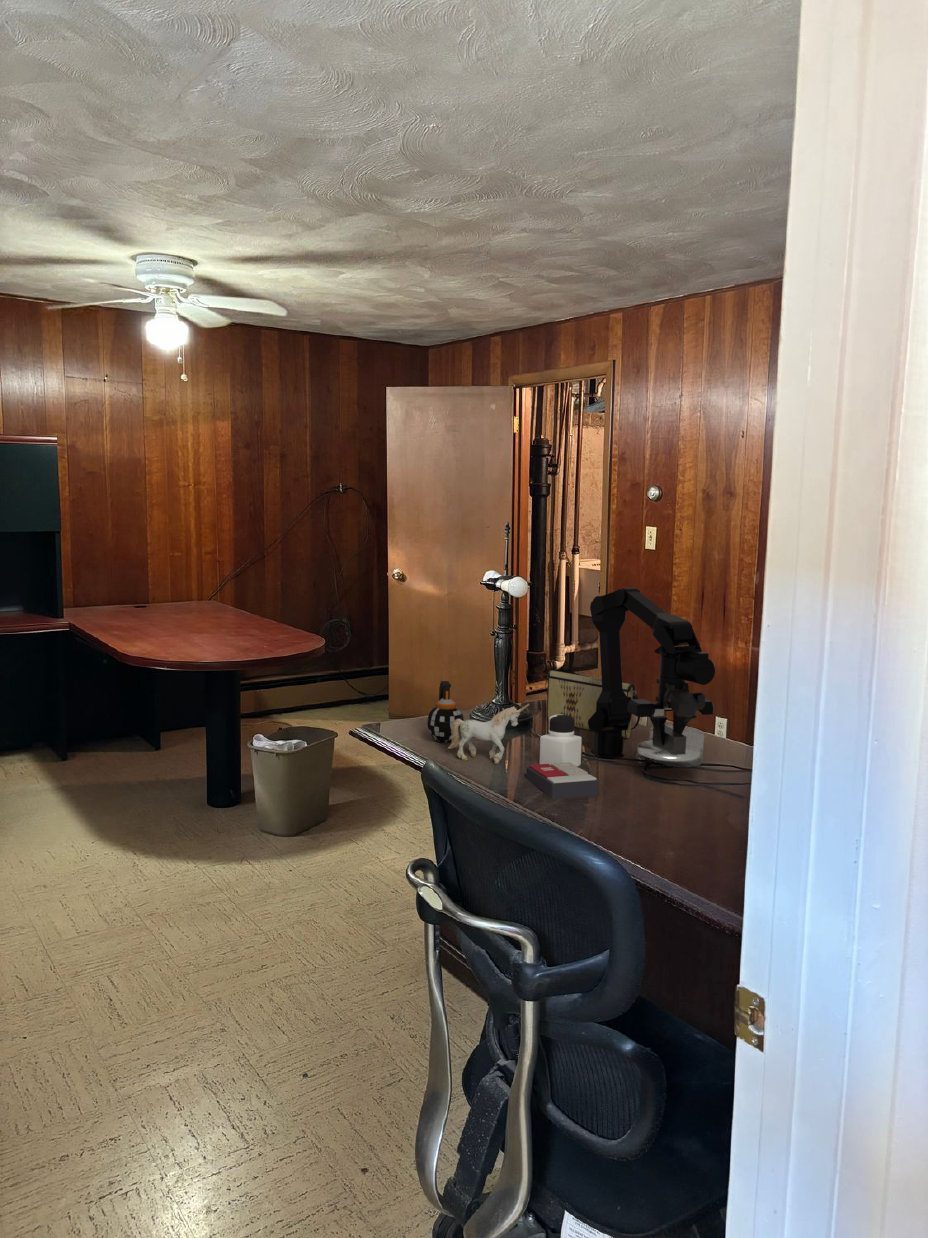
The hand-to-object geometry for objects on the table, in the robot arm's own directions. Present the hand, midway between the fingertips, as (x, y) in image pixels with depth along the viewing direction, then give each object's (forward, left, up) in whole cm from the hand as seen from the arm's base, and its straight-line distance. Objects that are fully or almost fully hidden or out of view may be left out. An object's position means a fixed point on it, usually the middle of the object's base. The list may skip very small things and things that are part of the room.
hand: (668, 744), depth 200 cm
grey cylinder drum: (+10, +15, -8) cm, 20 cm away
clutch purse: (+1, +47, -9) cm, 48 cm away
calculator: (-25, 0, -9) cm, 27 cm away
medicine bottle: (-20, +15, -9) cm, 27 cm away
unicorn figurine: (-35, +24, -9) cm, 43 cm away
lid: (0, 0, -2) cm, 2 cm away
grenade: (-42, +41, -9) cm, 59 cm away
